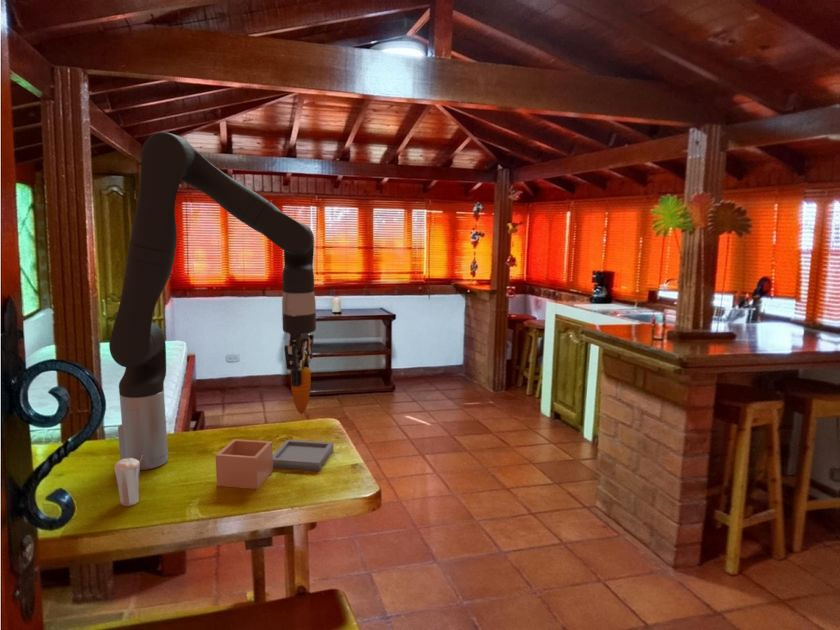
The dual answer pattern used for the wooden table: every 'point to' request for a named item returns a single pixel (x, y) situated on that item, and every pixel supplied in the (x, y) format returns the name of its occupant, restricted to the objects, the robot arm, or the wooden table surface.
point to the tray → (302, 455)
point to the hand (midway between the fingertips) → (300, 382)
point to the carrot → (302, 389)
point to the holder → (244, 463)
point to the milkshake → (128, 480)
